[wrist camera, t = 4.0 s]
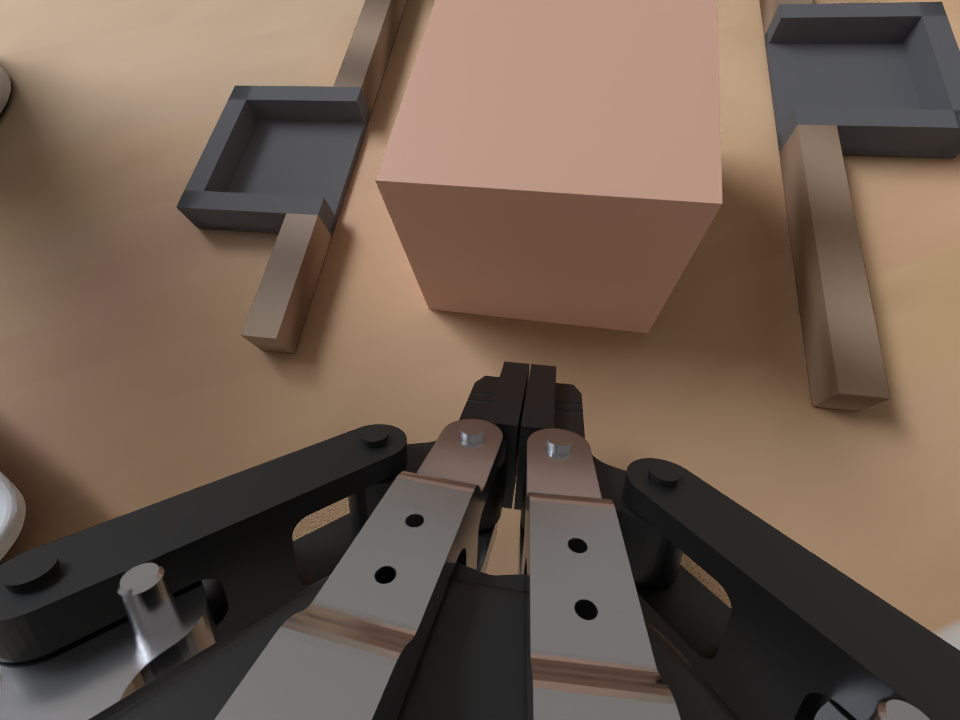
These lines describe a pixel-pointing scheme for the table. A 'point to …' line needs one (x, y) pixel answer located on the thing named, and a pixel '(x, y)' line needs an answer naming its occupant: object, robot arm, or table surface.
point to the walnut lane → (811, 216)
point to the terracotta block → (557, 157)
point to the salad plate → (10, 514)
